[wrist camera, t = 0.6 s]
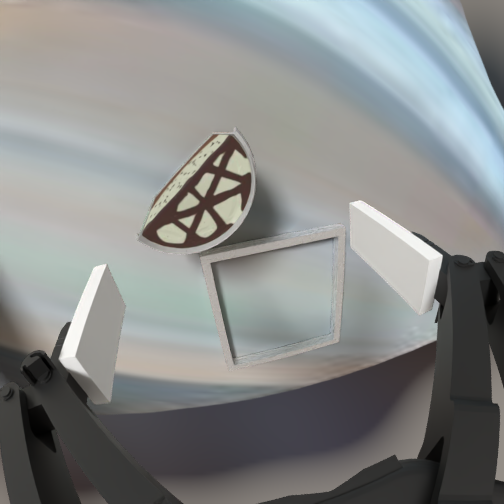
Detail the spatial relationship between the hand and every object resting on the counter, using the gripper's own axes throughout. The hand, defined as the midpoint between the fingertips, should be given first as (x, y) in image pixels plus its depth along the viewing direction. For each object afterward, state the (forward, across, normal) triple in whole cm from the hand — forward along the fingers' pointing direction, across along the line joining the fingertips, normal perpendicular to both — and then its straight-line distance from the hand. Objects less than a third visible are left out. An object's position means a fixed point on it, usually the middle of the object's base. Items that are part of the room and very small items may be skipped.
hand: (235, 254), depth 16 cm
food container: (+19, 0, -1) cm, 19 cm away
